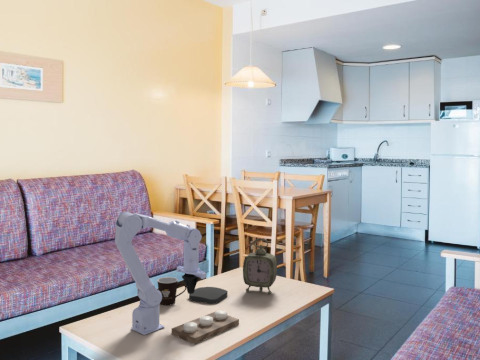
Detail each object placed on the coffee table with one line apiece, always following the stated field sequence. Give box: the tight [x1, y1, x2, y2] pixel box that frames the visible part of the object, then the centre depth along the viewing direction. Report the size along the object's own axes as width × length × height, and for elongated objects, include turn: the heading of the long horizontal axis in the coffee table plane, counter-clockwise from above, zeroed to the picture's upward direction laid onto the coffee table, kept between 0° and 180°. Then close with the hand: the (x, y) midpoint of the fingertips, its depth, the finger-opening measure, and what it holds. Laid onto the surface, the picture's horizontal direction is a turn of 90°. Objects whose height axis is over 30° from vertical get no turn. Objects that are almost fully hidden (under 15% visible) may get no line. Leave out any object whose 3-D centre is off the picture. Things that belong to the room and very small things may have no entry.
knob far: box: [214, 309, 228, 321], centre depth 170 cm, size 5×5×4 cm
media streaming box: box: [188, 286, 228, 305], centre depth 199 cm, size 15×15×3 cm
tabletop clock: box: [242, 238, 278, 295], centre depth 207 cm, size 14×9×25 cm, turn 73°
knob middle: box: [199, 315, 213, 327], centre depth 164 cm, size 5×5×4 cm
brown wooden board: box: [171, 310, 240, 345], centre depth 164 cm, size 23×12×2 cm, turn 139°
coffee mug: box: [156, 276, 187, 306], centre depth 190 cm, size 12×9×10 cm
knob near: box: [183, 321, 197, 333], centre depth 158 cm, size 5×5×4 cm
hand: (190, 293), depth 173 cm, fingers closed
